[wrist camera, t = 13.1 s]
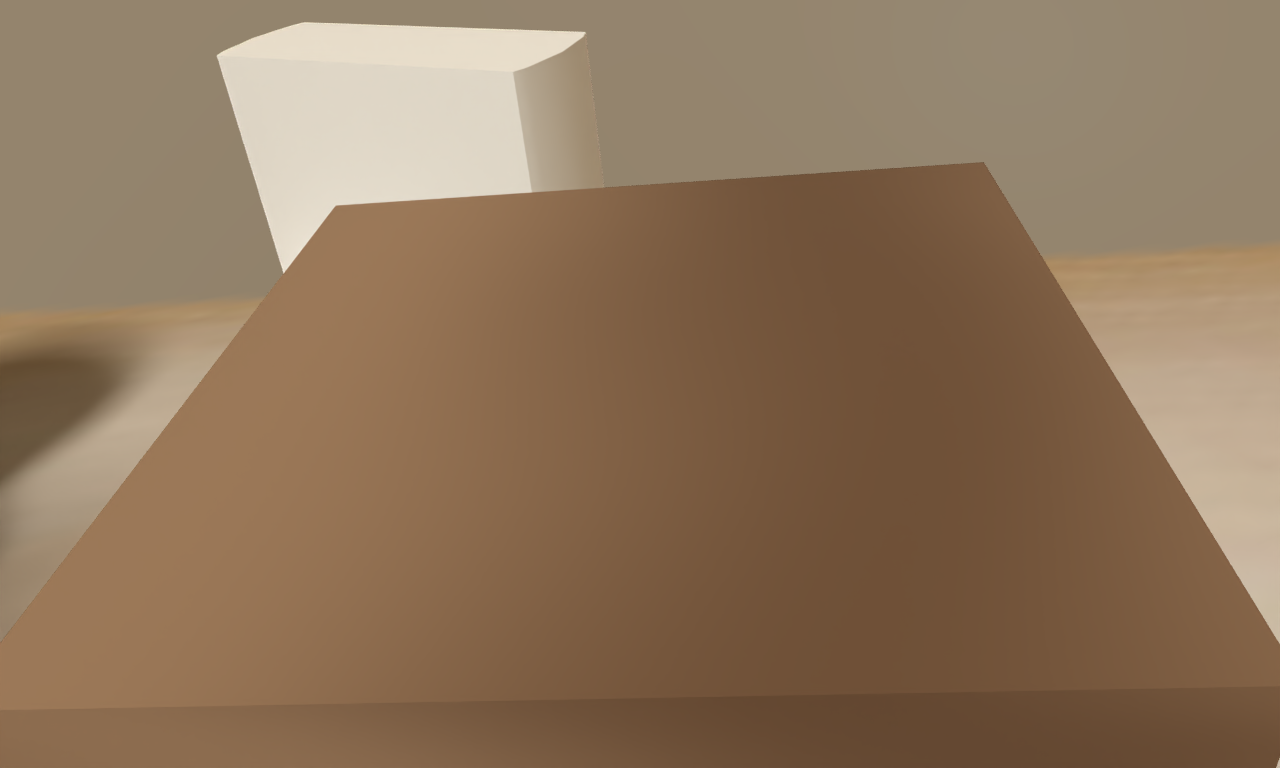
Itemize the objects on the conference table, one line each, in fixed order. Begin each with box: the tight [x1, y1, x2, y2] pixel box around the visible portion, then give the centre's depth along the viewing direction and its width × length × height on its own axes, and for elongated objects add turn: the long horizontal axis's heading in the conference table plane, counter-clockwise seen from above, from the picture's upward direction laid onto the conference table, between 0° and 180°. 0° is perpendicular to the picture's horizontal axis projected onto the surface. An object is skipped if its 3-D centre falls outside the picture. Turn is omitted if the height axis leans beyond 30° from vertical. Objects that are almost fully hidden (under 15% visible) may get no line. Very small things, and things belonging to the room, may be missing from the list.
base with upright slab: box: [217, 22, 604, 273], centre depth 27 cm, size 9×9×12 cm
